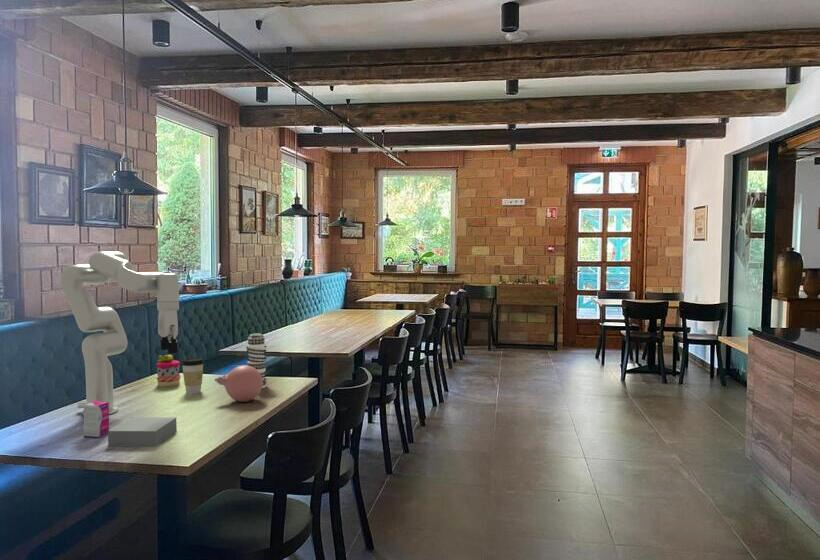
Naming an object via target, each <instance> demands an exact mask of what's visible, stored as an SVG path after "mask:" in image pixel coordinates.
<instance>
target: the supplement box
mask: <svg viewBox="0 0 820 560" xmlns="http://www.w3.org/2000/svg"><path fill="white" fill-rule="evenodd" d="M83 411H84V415H83V438H88V439H89V438H90V439H99V438H101V437H103V436H106V435H108V431H109V430H110V414H109V402H100V401H94V402H91V403H88V404H85V405H84V408H83Z"/></svg>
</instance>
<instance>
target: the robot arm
mask: <svg viewBox="0 0 820 560" xmlns="http://www.w3.org/2000/svg"><path fill="white" fill-rule="evenodd" d="M133 267H134V266H133V263H132V262H130V261H129V260H128V258H127V256H126V255H125V254H124V253H123V252H120V251H116V250H114V251H113V250H111V251H105V250H104V251H96V252H94V253H92V254H91V255H90V256H89V257H88V263H79V264H71V265H69V266H66V267H65V268H64V269H63V270H62V272H61V273H60V274H61V275H60V279H59V283H60V287H61V288H60V289H61V290H62V292H63V294H64V296H65V297H66V299H67V301H68V303H69V305H70V309H71V312H72V314H73V316H74V319H75V322H76V325H77V327H78V329H79V330H80V331H81V332H83V333H93V332H98V333H94V334H90V335H88V336H86V337H84V338H83V340H82V342H81V352H82V355H83V360H84V367H85V368H84V369H85V370H84V371H85V373H84V374H85V390H86V391H85V392H86V395H85V396H86V401H79V402H78V403H77V409H82V408H83V409H84V405H85V404H88V403H91V402H94V401H100V402H109V415H112V414H114V413H116V412H118V411H119V407H118V406H116V405H114V377H113V375H114V374H113V365H112V363H111V361H110V359H109V356H114V355H118V354H122V353H123V352H125V351H126V350H127V347H128V342H129V341H128V337H127V334H126V332H125V328H124V327H123V324H122V321H121V318H120V317H119V314H118V313H117V311H116V310H115V309H114V308H112V307H110V306H100V307H99V306H97V304H96V302H95V299H94V297H93V295H92V294H91V293H90V292H89V291H88V289H87V288H85V287H84V286H93V285H94V286H95V285H103V284H106V283H108V282H109V281H110V280H111V281H112V280H115V282H116V283H117V284H118V286H119V287H121V288H122V289H124V290H127V291H130V292H132V293H136V294H144V293H155V292H156V301H157V302H156V303H157V304H156V305H157V306H156V307H157V311H158V318H157V319H158V320H157V321H158V324H157V333H158V335H159V336H160V350H161V351H166V350H167V354H168V355H172V354H177V353H178V334H179V325H178V324H179V323H178V312H177V311H180V300H179V298H180V296H179V295H180V289H179V287H180V286H179V275H178V274H177V273H174V272H160V271H147V272H136V271H134V268H133ZM100 331H102V332H100ZM81 413H82V415H83V416H84V410H82V412H81Z"/></svg>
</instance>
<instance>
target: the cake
mask: <svg viewBox="0 0 820 560" xmlns="http://www.w3.org/2000/svg"><path fill="white" fill-rule="evenodd" d="M180 366H181V363H180V361H179V360H174V359H173V355H172V354H165V355H163V356H162V355H159V356H158V360H157V363H156V375H157V377H156V380H157V387H160V388H171V387H172V388H173V387H177V386H180V383H181V381H180V380H181V377H182V375H181V374H180V368H181V367H180Z"/></svg>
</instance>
